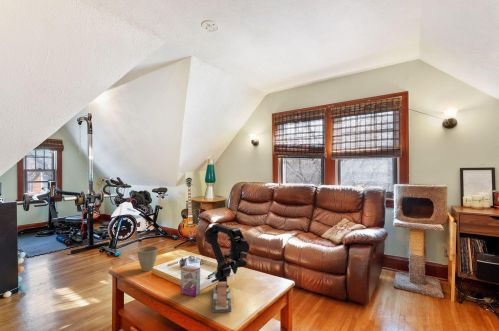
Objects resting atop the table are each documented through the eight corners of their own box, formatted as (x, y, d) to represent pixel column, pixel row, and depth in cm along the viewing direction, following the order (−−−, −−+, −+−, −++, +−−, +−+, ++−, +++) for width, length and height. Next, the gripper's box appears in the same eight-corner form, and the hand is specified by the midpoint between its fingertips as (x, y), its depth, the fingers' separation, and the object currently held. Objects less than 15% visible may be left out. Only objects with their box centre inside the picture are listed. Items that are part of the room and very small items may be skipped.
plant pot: (137, 275, 187) (137, 253, 187) (136, 267, 201) (137, 247, 201) (158, 271, 193) (158, 250, 194) (157, 264, 207) (157, 245, 207)
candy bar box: (180, 294, 159) (180, 267, 159) (185, 290, 163) (185, 264, 164) (196, 297, 155) (196, 269, 155) (200, 293, 160) (200, 266, 160)
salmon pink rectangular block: (215, 302, 145) (215, 281, 145) (228, 302, 146) (228, 280, 146) (215, 309, 138) (215, 286, 138) (228, 308, 139) (228, 286, 139)
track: (214, 294, 158) (214, 288, 158) (230, 293, 159) (230, 287, 159) (212, 312, 139) (212, 305, 139) (231, 311, 139) (231, 304, 140)
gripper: (254, 250, 158) (254, 275, 157) (237, 243, 173) (237, 266, 173) (238, 253, 151) (238, 280, 151) (223, 245, 166) (223, 270, 166)
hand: (234, 273), depth 160 cm, fingers closed
